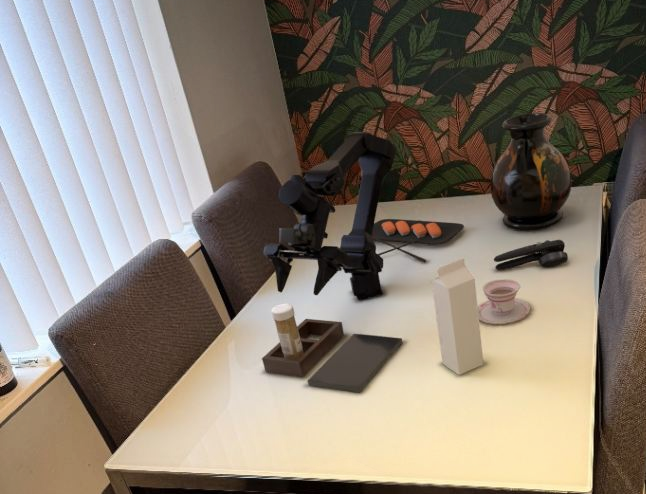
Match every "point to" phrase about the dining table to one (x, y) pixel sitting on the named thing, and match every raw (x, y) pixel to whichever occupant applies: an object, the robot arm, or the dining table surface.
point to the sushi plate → (414, 233)
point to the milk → (457, 317)
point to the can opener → (534, 255)
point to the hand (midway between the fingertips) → (297, 293)
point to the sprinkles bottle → (287, 331)
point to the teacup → (502, 303)
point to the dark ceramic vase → (530, 176)
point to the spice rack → (305, 348)
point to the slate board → (355, 362)
